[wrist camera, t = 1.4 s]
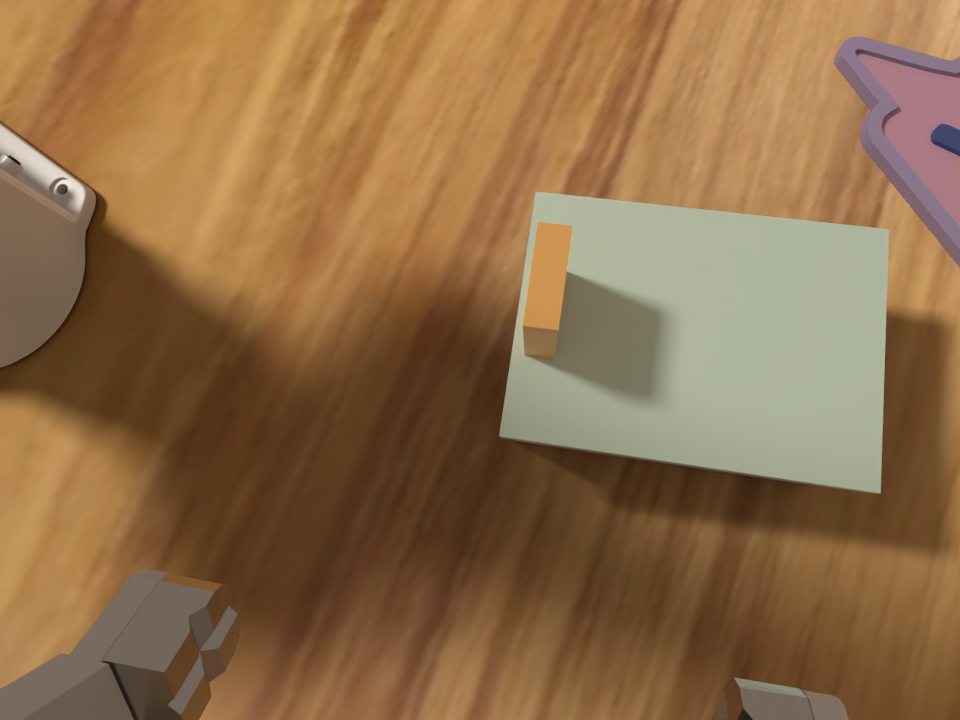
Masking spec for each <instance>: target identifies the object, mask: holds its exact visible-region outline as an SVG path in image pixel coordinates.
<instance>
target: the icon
mask: <svg viewBox="0 0 960 720" xmlns="http://www.w3.org/2000/svg"><path fill="white" fill-rule="evenodd" d="M834 63H835V66H836V67H837V69H838V70H839V71H840V72H841V74H842V75H843V76H844V77H845V79H846V80H847V81H848V82H849V84H850V85H851V86H852V87H853V89H854V90H855V91H856V92H857V94H858V95H859V96H860V97H861V99H862V100H863V101H864V102H865V104H866V105H867V106H868V107H869V109H870V110H871V112H870V113H869V114H868V115H867V116H866V118H865V119H864V121H863V122H862V125H861V130H860V138H861V143H862V146H863V148H864V149H865V151H866V152H867V153H868V154H869V156H870V157H871V158H872V159H873V161H874V162H875V163H876V164H877V166H878V167H879V168H880V169H881V171H882V172H883V173H884V174H885V175H886V177H887V178H888V179H889V180H890V182H891V183H892V184H893V185H894V187H895V188H896V189H897V190H898V192H899V193H900V194H901V195H902V196H903V198H904V199H905V200H906V201H907V203H908V204H909V205H910V206H911V208H912V209H913V210H914V211H915V213H916V214H917V215H918V216H919V217H920V219H921V220H922V221H923V222H924V224H925V225H926V226H927V227H928V229H929V230H930V231H931V232H932V234H933V235H934V236H935V237H936V238H937V240H938V241H939V242H940V243H941V245H942V246H943V247H944V248H945V250H946V251H947V252H948V253H949V255H950V256H951V257H952V258H953V259H954V261H955V262H956V263H957V264H958V266H959V267H960V57H959V58H957V59H955V60H951V61H949V60H944V59H941V58H937V57H933V56H930V55H926V54H923V53H919V52H915V51H912V50H908V49H905V48H901V47H897V46H894V45H890V44H887V43H883V42H879V41H876V40H872V39H869V38H864V37H854V38H850V39H848V40H846V41H845V42H844V43H843V44H842V46H841V47H840V49H839V50H838V52H837V53H836V55H835V58H834Z"/></svg>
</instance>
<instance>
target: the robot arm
mask: <svg viewBox="0 0 960 720" xmlns="http://www.w3.org/2000/svg"><path fill="white" fill-rule="evenodd" d="M67 189H68V190H67ZM66 190H67V192H66V193H65V194H64V192H65V191H66ZM95 204H96V196H95V193H94V192H93V190H92V189H91V188H89V187H88V186H87V185H85V184H84V183H82V182H81V181H80V180H78V179H77V178H76V177H74V176H73V175H72V174H70V173H69V172H67V171H66V170H65V169H63V168H62V167H61V166H59V165H58V164H57V163H55V162H54V161H52V160H51V159H50V158H48V157H47V156H46V155H44V154H43V153H41V152H40V151H39V150H37V149H36V148H35V147H33V146H32V145H31V144H29V143H28V142H26V141H25V140H24V139H22V138H21V137H20V136H18V135H17V134H16V133H14V132H13V131H11V130H10V129H9V128H7V127H6V126H5V125H3V124H2V123H1V122H0V367H4V366H6V365H9V364H12V363H14V362H16V361H18V360H20V359H22V358H24V357H25V356H27V355H29V354H30V353H32V352H33V351H35V350H36V349H37V348H39V347H40V346H41V345H42V344H44V343H45V342H46V341H47V340H48V339H49V338H50V337H51V336H52V335H53V334H54V333H55V332H56V330H57V329H58V328H59V327H60V326H61V324H62V323H63V322H64V320H65V319H66V317H67V316H68V314H69V312H70V311H71V309H72V307H73V305H74V303H75V301H76V299H77V296H78V294H79V291H80V288H81V285H82V281H83V276H84V269H85V234H86V230H87V227H88V225H89V223H90V220H91V217H92V215H93V212H94V209H95ZM232 599H233V594H232V591H231V588H230V585H229V584H224V583H218V582H213V581H208V580H203V579H197V578H192V577H187V576H182V575H176V574H173V573H169V572H163V571H157V570H152V569H146V568H141V569H139V570H138V571H137V572H135V573H134V574H132V575H131V576H130V577H129V578H128V580H127V581H126V582H125V584H124V585H123V586H122V587H121V589H120V590H119V591H118V593H117V594H116V595H115V596H114V598H113V599H112V600H111V602H110V603H109V604H108V605H107V607H106V608H105V609H104V611H103V612H102V613H101V615H100V616H99V617H98V618H97V620H96V621H95V622H94V624H93V625H92V626H91V627H90V629H89V630H88V631H87V633H86V634H85V635H84V636H83V638H82V639H81V640H80V642H79V643H78V644H77V645H76V647H75V648H74V649H73V651H72V652H71V653H70V654H69V655H67V654H59V655H57V656H56V657H54V658H52V659H51V660H49V661H47V662H46V663H44V664H42V665H41V666H39V667H37V668H35V669H34V670H32V671H30V672H29V673H27V674H25V675H24V676H22V677H20V678H19V679H17V680H15V681H14V682H12V683H10V684H8V685H7V686H5V687H3V688H2V689H0V720H199V719H200V717H201V715H202V713H203V711H204V709H205V708H206V706H207V704H208V702H209V700H210V698H211V691H210V683H209V682H210V681H212V680H213V679H215V678H216V677H217V676H219V675H220V674H222V673H223V672H225V670H226V669H227V667H228V665H229V663H230V661H231V659H232V657H233V655H234V652H235V649H236V645H237V642H238V639H239V632H240V622H239V617H238V614H237V613H236V612H235V611H234V610H233V609H232V608H231V607H230V606H229V604H230V603H231V601H232ZM725 696H726V702H724V703H722V704H720V705H717V707H716V710H715V712H714V715H713V717H712V720H849V718H848V715H847V712H846V709H845V706H844V704H843V703H842V702H841V700H840V699H839V698H838V697H836V696H834V695H829V694H823V693H817V692H812V691H806V690H800V689H799V688H793V687H788V686H782V685H776V684H770V683H764V682H758V681H752V680H746V679H740V678H732V679H730V680H729V681H728V683H727V685H726V687H725Z"/></svg>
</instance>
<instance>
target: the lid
mask: <svg viewBox="0 0 960 720" xmlns="http://www.w3.org/2000/svg"><path fill="white" fill-rule="evenodd" d="M888 245H889V229H881V228H871V227H862V226H853V225H843V224H834V223H825V222H815V221H806V220H797V219H787V218H778V217H769V216H759V215H750V214H740V213H731V212H722V211H712V210H703V209H694V208H684V207H675V206H666V205H656V204H647V203H638V202H628V201H619V200H609V199H600V198H591V197H581V196H572V195H563V194H553V193H544V192H536V194H535V201H534V207H533V214H532V220H531V227H530V234H529V240H528V247H527V254H526V260H525V267H524V274H523V280H522V287H521V294H520V300H519V307H518V314H517V320H516V327H515V334H514V340H513V347H512V354H511V360H510V367H509V374H508V380H507V387H506V394H505V400H504V407H503V413H502V420H501V427H500V433H499V437H500V438H503V439H510V440H517V441H523V442H530V443H537V444H543V445H550V446H557V447H563V448H570V449H577V450H583V451H590V452H596V453H603V454H610V455H616V456H623V457H630V458H636V459H643V460H650V461H656V462H663V463H670V464H676V465H683V466H690V467H696V468H703V469H710V470H716V471H723V472H730V473H736V474H743V475H750V476H756V477H763V478H770V479H776V480H783V481H790V482H796V483H803V484H810V485H816V486H823V487H829V488H836V489H843V490H849V491H856V492H863V493H869V494H878V493H881V467H882V435H883V404H884V372H885V340H886V308H887V277H888Z"/></svg>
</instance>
